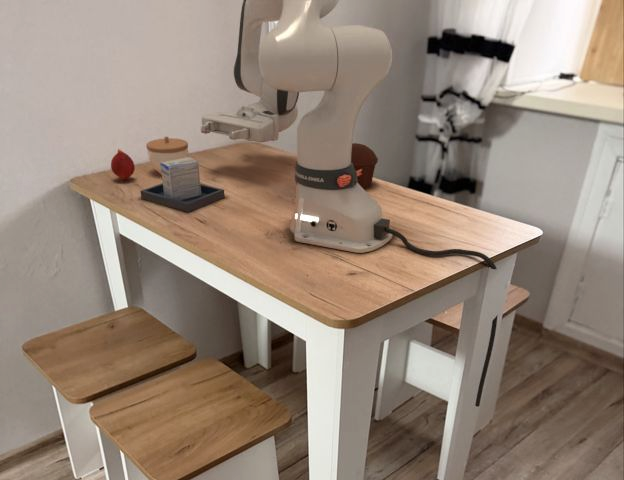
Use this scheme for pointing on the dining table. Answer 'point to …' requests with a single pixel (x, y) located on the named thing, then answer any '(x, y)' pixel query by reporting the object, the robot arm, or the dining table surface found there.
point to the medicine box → (181, 178)
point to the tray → (188, 205)
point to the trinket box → (166, 151)
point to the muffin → (363, 163)
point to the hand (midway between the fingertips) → (216, 133)
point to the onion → (122, 165)
